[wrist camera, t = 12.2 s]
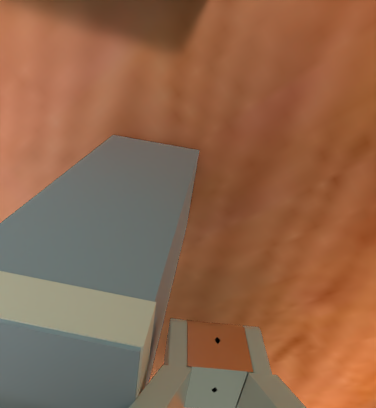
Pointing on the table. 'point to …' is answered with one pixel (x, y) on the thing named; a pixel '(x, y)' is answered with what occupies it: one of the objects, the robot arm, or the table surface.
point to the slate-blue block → (92, 276)
